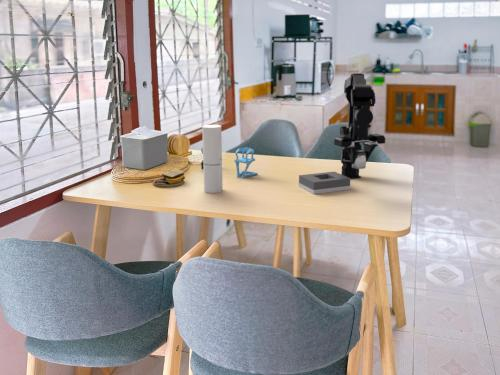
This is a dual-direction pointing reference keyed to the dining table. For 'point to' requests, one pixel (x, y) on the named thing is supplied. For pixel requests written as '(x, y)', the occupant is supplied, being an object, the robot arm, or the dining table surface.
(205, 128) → the cylindrical container
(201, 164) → the watch
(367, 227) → the dining table surface
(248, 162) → the chair
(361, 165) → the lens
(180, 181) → the toy sandwich meal
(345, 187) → the grey plate with pocket
